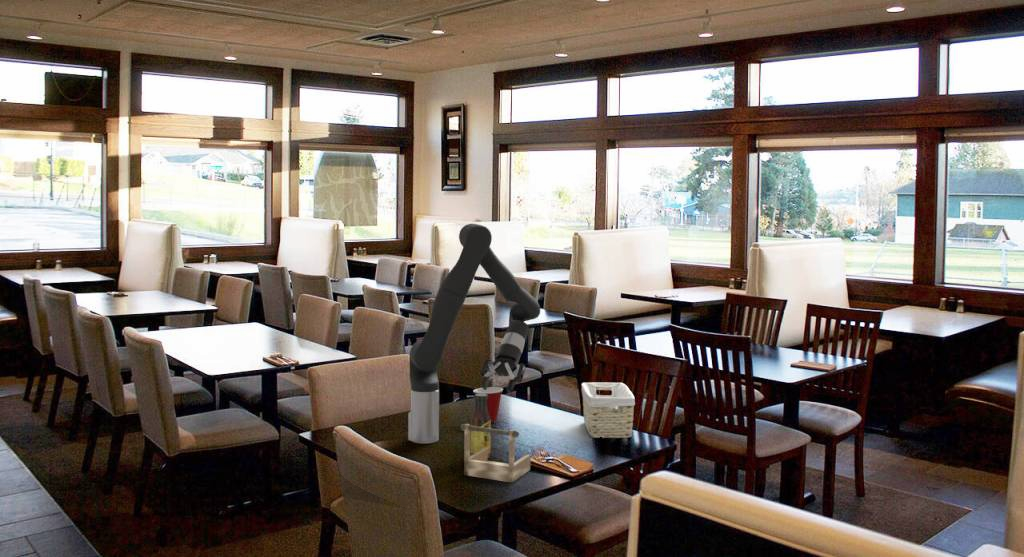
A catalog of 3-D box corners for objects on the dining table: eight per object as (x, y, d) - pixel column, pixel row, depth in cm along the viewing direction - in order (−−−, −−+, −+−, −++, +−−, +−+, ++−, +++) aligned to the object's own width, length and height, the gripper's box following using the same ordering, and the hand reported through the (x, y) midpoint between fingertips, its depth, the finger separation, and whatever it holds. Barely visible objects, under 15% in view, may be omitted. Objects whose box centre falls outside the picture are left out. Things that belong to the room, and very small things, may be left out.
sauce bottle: (487, 461, 268) (488, 397, 266) (468, 459, 269) (468, 396, 267) (492, 455, 274) (493, 393, 272) (473, 453, 275) (473, 392, 274)
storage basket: (635, 439, 295) (636, 396, 293) (587, 439, 294) (588, 396, 293) (623, 421, 318) (624, 382, 317) (579, 421, 318) (580, 381, 316)
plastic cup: (485, 416, 323) (485, 384, 322) (508, 420, 317) (509, 388, 316) (466, 421, 314) (467, 389, 313) (490, 426, 308) (491, 393, 307)
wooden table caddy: (458, 474, 254) (459, 424, 253) (479, 462, 267) (479, 414, 265) (516, 483, 247) (517, 431, 246) (534, 470, 259) (535, 421, 258)
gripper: (488, 340, 289) (472, 381, 280) (527, 344, 284) (513, 385, 274) (494, 354, 295) (479, 394, 285) (533, 357, 289) (519, 398, 280)
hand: (496, 389), depth 280 cm, fingers open, 8 cm apart
